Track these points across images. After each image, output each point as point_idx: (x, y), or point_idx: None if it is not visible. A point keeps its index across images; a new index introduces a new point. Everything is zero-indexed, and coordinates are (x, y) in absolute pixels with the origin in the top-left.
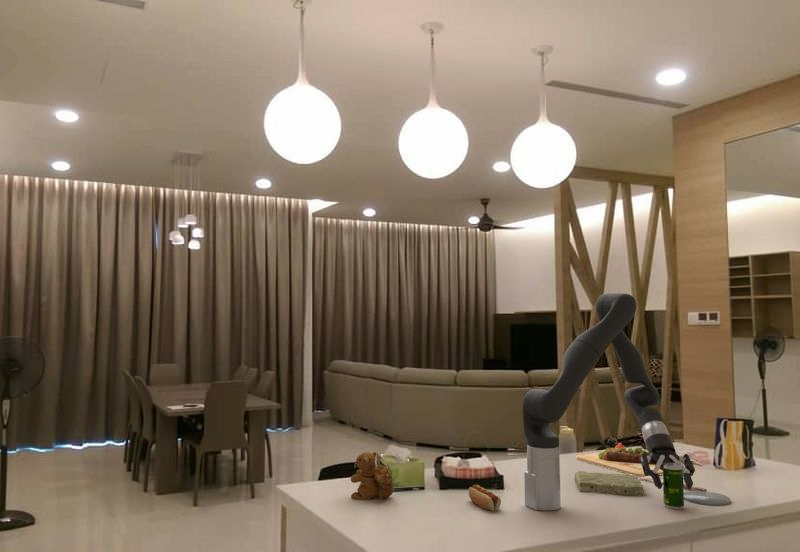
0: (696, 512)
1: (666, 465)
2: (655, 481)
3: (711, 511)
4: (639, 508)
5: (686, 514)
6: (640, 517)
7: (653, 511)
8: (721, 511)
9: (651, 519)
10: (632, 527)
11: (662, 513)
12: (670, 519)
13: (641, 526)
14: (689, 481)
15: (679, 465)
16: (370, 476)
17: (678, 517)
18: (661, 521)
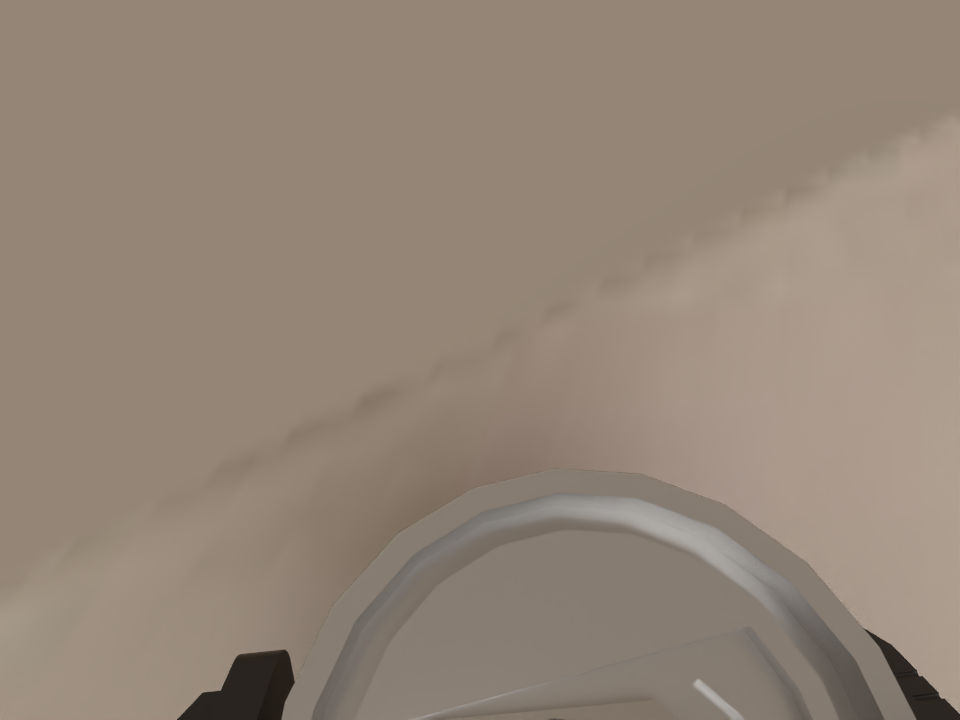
0: (359, 534)
1: (842, 614)
2: (914, 676)
3: (182, 587)
4: (933, 631)
5: (484, 457)
6: (905, 336)
7: (785, 527)
8: (74, 597)
9: (816, 297)
10: (946, 138)
11: (704, 467)
12: (664, 310)
13: (889, 158)
14: (246, 695)
15: (400, 630)
16: None
17: (584, 365)
18: (742, 260)
